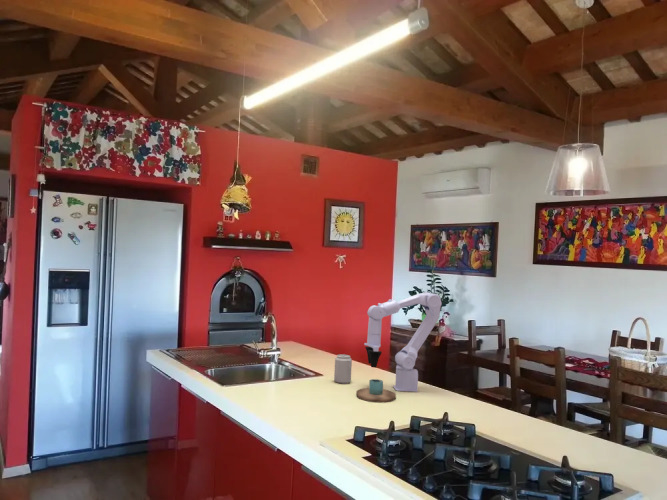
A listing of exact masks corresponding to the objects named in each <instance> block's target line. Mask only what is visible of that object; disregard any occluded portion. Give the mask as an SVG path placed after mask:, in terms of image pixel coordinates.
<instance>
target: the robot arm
mask: <svg viewBox="0 0 667 500" xmlns="http://www.w3.org/2000/svg"><path fill="white" fill-rule="evenodd" d="M442 304H443V303H442V300H441V297H440V296H439V294H437V293H432V292H428V291H426V292H422V293H417V294H414V295H411V296H409V297H407V298H403V299H401V300H398V301H397V300H395V299H388V300H387V301H386V302H382V303H380V302H378V303H377V305H374V304H373V305H371V306H370V307H369V308H368V310H367V316H368V322H367V323H368V325H367V327H368V328H367V340H366V342H364V344H363V345H364V348H365V350H366V354H367V361H368V364H370V367H371V368H377V367H378V363H379V359H380V356H381V355H382V351H381V350H379V348H381V346H382V344H381V340H382V339H381V338H382V325H383V324H382V319H383V318H384V317H388V316H392V315H393V314H396V313H399V311H400V309H404V308H407V307H410V306H414V305H420V306H421V305H422V307H423V308H424V311H425V317H424V318H423V319H422V321H421V323H420V325H419V327H418V328H417V330H416V331H415V332H414V334H413V335H412V337H411V339H410V340H409V342H407V345H405V346H404V347H403V348H402V349H401V350H400V351H398V352H396V354H395V356H394V362H395V363H396V367H395V382H394V384H395V385H394V384H393V385H392V387H393V388H394V390H395V391H396V392H419V391H418V388H419V387H418V386H419V371H418V369H415V368H414V367H415V365H416V361H417V358H418V352H419V350H420V348H421V347H422V346H423V344H424V342H425V341H426V340H427V338H428V336H429V335H430V334H431V332H432V330H433V328H434V327H435V326H436V324H437V322H438V321H439V319H440V316H441V307H442Z"/></svg>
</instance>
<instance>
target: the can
mask: <svg viewBox="0 0 667 500" xmlns="http://www.w3.org/2000/svg"><path fill="white" fill-rule="evenodd" d="M352 362H353V360H352V358H351V355H348V354H337V355H336V357H335V359H334V374H333V375H334V377H333V380H334V381H335V383H337V384H343V385H346V384H349V383H350V382H351V381H352V365H353V364H352Z"/></svg>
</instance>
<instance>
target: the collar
mask: <svg viewBox="0 0 667 500" xmlns="http://www.w3.org/2000/svg"><path fill="white" fill-rule="evenodd" d="M368 385H369V386H368V388H369V393H370V394H373V395H381V394H383V389H384V380H381V379H377V378H372V379H369V383H368Z"/></svg>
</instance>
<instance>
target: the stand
mask: <svg viewBox="0 0 667 500" xmlns="http://www.w3.org/2000/svg"><path fill="white" fill-rule="evenodd" d="M355 394H356V395H355V397H356V398H358V399H359V400H362V401H365V402H370V403H389V402H394V401H395V400H396V398H397V397H396V396H397V394H396V392H394V391H392V390H388V389H384V388H383V394H381V395H373V394H370V393H369V387H368V388H367V387H366V388H359V389H357V390H356V393H355Z"/></svg>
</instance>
